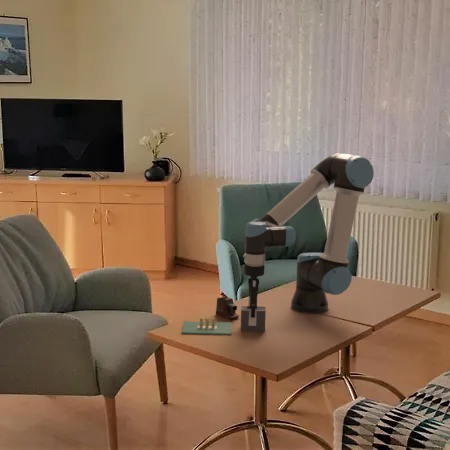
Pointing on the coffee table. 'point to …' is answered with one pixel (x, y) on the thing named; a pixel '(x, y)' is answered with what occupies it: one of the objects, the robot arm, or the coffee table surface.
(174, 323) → the coffee table surface
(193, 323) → the header board
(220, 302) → the electronic device
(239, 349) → the coffee table surface
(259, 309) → the block
